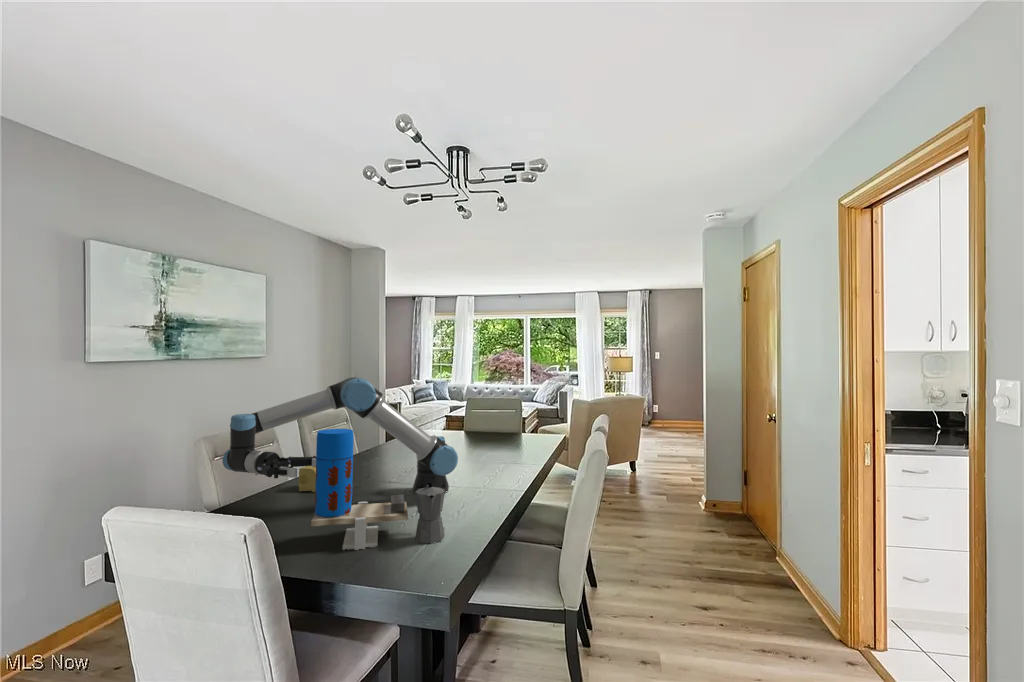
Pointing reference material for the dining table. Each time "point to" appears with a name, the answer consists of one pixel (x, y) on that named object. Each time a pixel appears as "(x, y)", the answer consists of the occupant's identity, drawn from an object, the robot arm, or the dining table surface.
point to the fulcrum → (361, 534)
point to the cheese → (307, 478)
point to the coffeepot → (429, 514)
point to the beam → (368, 513)
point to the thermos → (334, 472)
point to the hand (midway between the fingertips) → (312, 468)
